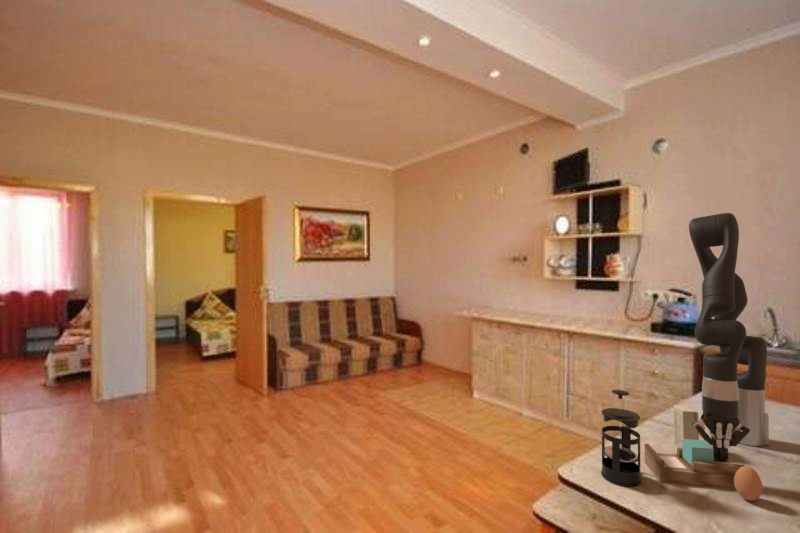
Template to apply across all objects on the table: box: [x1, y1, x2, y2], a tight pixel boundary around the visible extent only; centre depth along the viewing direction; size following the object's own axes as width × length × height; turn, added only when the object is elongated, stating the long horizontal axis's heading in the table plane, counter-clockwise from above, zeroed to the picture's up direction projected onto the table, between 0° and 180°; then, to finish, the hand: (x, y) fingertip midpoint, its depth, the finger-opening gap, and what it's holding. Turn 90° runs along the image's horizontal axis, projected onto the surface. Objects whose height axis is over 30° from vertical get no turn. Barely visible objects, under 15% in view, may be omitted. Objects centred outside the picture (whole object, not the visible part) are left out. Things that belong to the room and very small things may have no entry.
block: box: [683, 439, 714, 465], centre depth 107 cm, size 5×5×5 cm
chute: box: [644, 443, 746, 489], centre depth 108 cm, size 20×10×6 cm, turn 79°
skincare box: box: [673, 404, 700, 448], centre depth 123 cm, size 6×4×12 cm
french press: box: [600, 389, 642, 488], centre depth 107 cm, size 12×9×23 cm
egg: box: [734, 465, 763, 502], centre depth 96 cm, size 5×5×8 cm
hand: (720, 460), depth 106 cm, fingers closed
